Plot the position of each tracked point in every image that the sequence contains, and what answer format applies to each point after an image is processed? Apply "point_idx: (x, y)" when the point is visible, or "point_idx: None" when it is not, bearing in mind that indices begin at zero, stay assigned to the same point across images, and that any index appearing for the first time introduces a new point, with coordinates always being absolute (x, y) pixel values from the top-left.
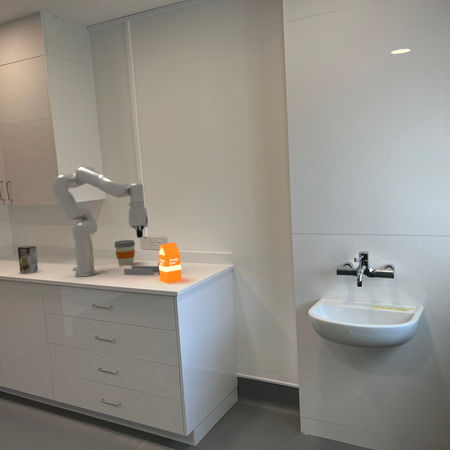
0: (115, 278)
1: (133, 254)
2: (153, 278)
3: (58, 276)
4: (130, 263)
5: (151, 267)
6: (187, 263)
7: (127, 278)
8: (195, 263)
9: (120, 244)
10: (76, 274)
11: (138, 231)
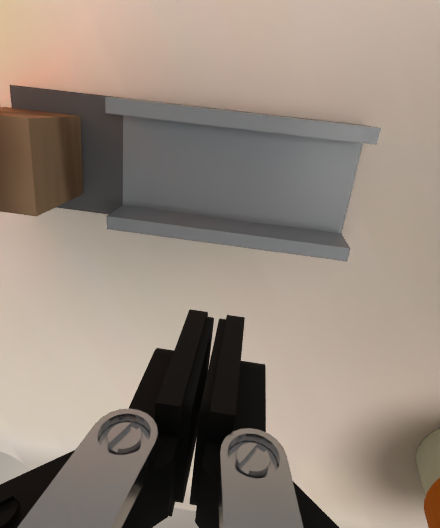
0: (415, 28)
1: (430, 514)
2: (91, 41)
3: None
4: (429, 447)
5: (172, 222)
6: None
7: (305, 32)
8: (42, 444)
9: None
10: None
11: (183, 394)
